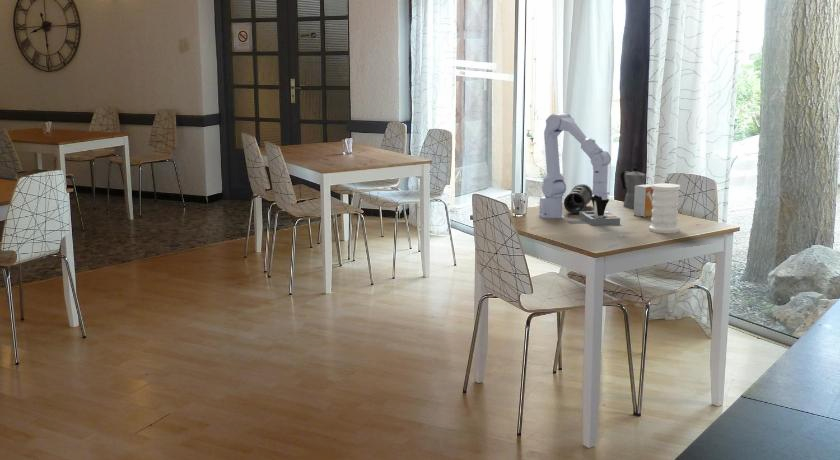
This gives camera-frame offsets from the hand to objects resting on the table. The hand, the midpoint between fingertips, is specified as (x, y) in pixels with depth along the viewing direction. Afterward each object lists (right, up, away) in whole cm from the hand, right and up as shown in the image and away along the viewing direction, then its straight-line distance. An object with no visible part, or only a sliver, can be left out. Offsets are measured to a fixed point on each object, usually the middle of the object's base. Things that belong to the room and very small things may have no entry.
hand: (599, 214), depth 383 cm
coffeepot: (+23, +4, +42) cm, 48 cm away
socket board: (+1, -3, +5) cm, 6 cm away
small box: (+24, 0, +20) cm, 31 cm away
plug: (0, -2, 0) cm, 2 cm away
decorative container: (+23, -7, -13) cm, 27 cm away
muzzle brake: (-3, +2, +33) cm, 33 cm away
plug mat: (-9, -4, +2) cm, 10 cm away
